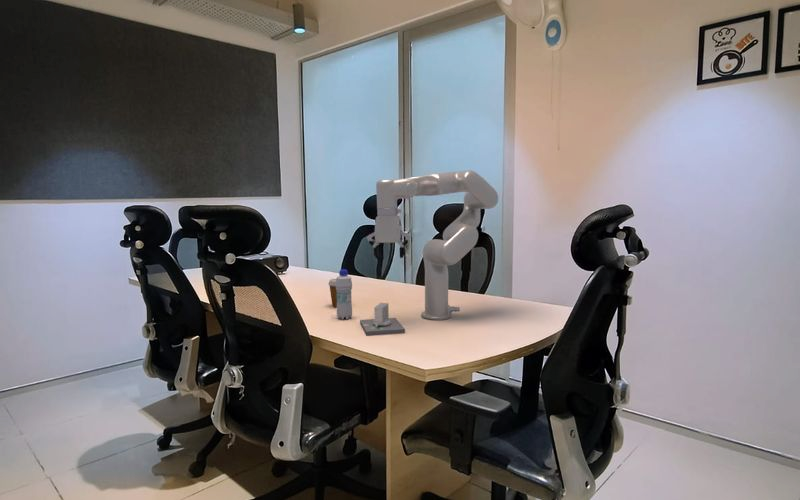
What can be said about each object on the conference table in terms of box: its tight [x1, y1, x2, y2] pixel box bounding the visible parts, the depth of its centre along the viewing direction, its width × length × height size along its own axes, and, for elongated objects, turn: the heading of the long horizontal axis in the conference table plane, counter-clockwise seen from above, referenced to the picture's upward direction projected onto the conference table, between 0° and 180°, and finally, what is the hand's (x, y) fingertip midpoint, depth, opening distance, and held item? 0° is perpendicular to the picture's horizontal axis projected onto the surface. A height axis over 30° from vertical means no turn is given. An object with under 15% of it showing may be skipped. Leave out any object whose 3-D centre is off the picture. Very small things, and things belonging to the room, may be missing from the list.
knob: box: [372, 302, 391, 327], centre depth 177 cm, size 7×10×7 cm, turn 165°
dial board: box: [359, 317, 406, 336], centre depth 179 cm, size 14×17×2 cm
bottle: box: [335, 268, 353, 320], centre depth 193 cm, size 7×7×20 cm
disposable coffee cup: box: [328, 278, 337, 309], centre depth 215 cm, size 10×10×12 cm
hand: (389, 257), depth 183 cm, fingers open, 9 cm apart
